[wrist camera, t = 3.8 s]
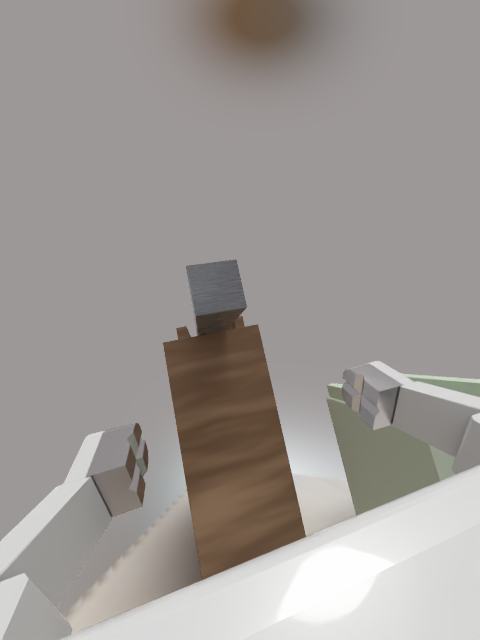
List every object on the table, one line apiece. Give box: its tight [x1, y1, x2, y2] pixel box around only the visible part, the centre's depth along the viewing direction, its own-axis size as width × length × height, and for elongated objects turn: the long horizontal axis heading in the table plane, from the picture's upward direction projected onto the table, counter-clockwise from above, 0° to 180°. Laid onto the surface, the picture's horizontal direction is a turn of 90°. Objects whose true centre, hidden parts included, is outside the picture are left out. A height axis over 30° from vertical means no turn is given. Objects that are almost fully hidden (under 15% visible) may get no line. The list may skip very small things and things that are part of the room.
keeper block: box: [327, 374, 480, 516], centre depth 21 cm, size 12×8×17 cm, turn 10°
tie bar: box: [186, 260, 247, 336], centre depth 24 cm, size 23×3×3 cm, turn 10°
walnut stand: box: [163, 316, 306, 580], centre depth 28 cm, size 14×10×27 cm
